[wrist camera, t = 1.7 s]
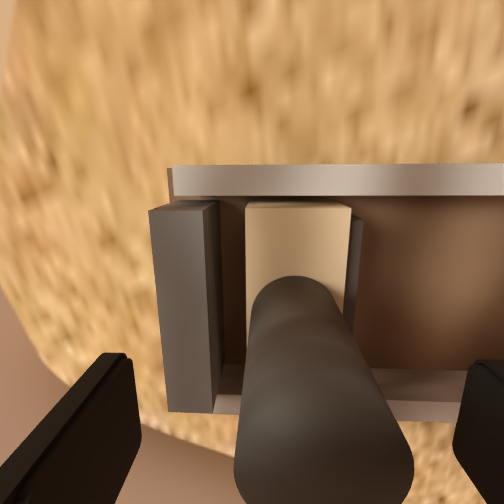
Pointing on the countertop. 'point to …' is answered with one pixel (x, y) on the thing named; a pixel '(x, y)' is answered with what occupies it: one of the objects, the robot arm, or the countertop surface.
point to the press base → (369, 280)
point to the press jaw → (311, 367)
